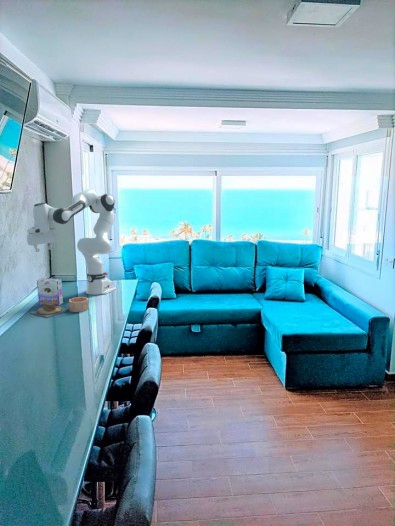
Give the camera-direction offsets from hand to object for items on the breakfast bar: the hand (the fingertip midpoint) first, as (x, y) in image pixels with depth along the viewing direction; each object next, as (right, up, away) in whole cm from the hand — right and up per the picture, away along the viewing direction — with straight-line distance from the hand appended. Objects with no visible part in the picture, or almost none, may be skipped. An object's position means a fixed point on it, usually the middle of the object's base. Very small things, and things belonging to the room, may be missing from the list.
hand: (43, 250), depth 235 cm
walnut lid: (+10, -37, -14) cm, 41 cm away
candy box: (+4, -35, +1) cm, 35 cm away
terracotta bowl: (+25, -36, -8) cm, 45 cm away
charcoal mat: (+9, -37, -14) cm, 41 cm away
